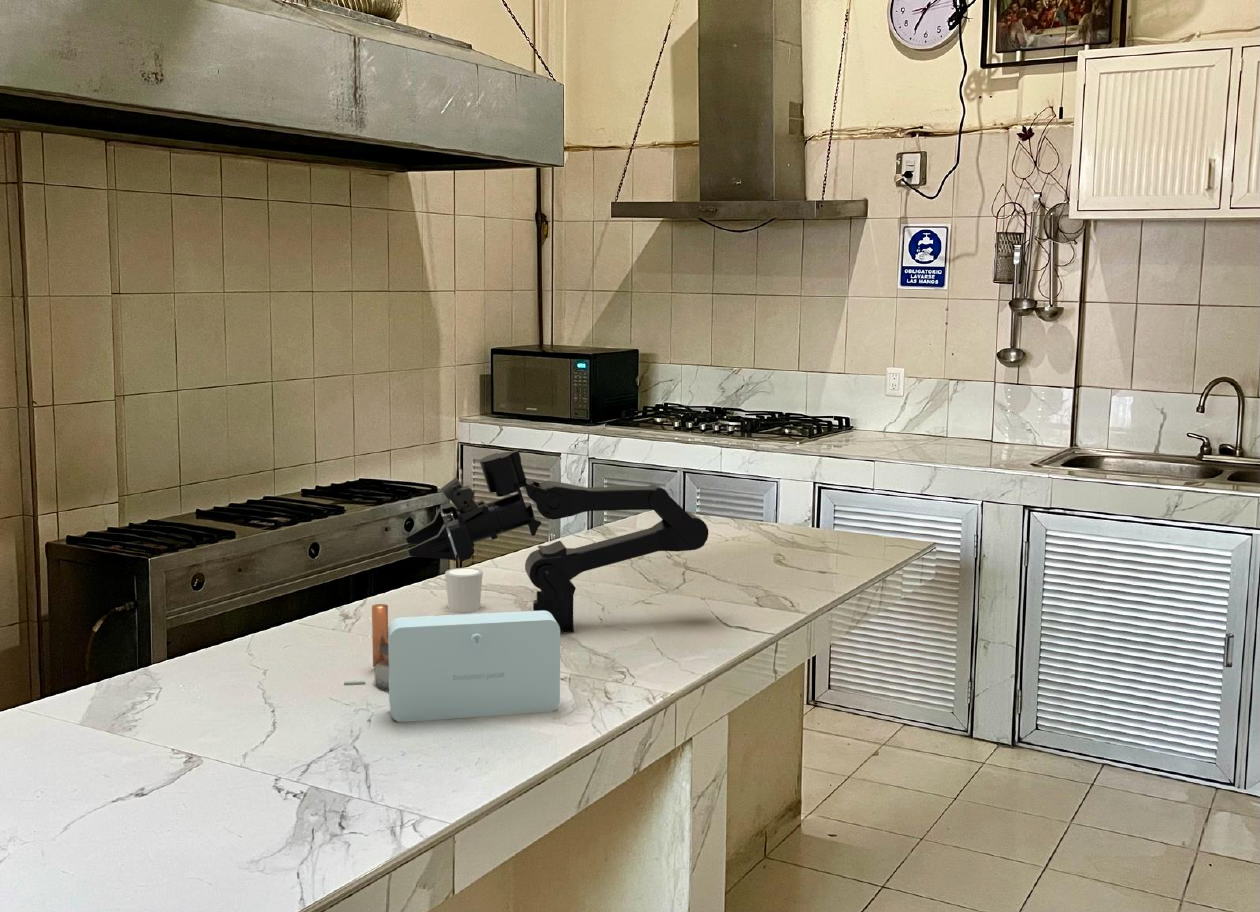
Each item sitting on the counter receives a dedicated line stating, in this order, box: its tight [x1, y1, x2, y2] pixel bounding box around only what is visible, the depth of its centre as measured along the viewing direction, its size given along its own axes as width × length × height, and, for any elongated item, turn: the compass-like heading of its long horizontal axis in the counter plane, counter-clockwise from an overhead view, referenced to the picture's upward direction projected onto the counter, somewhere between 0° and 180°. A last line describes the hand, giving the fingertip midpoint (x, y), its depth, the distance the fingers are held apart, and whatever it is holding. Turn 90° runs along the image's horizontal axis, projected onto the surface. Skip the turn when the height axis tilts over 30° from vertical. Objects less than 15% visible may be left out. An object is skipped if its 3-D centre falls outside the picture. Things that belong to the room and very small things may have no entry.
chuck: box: [374, 659, 389, 692], centre depth 180 cm, size 10×10×7 cm
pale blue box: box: [388, 610, 561, 723], centre depth 168 cm, size 23×6×13 cm, turn 103°
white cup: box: [444, 567, 484, 614], centre depth 222 cm, size 7×7×7 cm
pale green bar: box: [343, 680, 366, 686], centre depth 180 cm, size 3×1×1 cm, turn 98°
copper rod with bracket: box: [371, 603, 389, 669], centre depth 184 cm, size 7×2×10 cm, turn 43°
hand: (407, 546), depth 202 cm, fingers open, 9 cm apart
